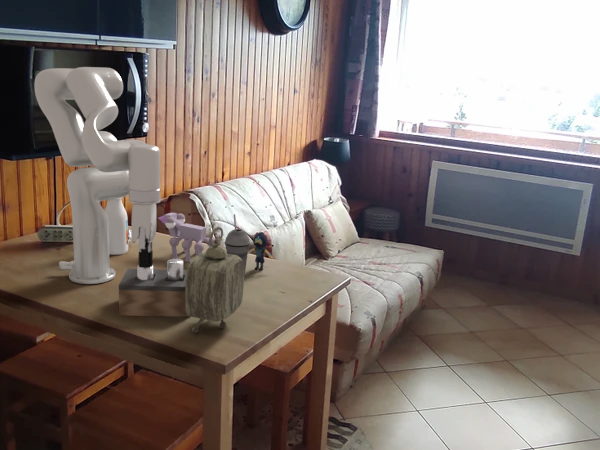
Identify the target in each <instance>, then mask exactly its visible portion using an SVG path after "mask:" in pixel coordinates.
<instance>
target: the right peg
mask: <svg viewBox="0 0 600 450" xmlns="http://www.w3.org/2000/svg"><path fill="white" fill-rule="evenodd" d="M166 266H167V267H166V269H167V281H183V270H184V260H183V259H180V258H176V259H173V258H171V259H167V261H166Z"/></svg>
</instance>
